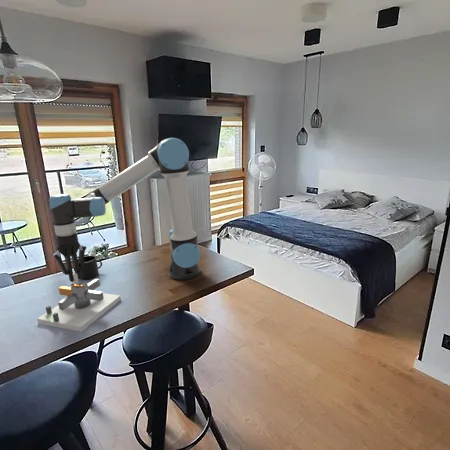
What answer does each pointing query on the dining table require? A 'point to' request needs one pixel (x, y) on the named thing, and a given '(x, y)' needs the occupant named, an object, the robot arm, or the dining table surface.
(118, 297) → the stand plate
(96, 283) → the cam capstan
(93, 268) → the mug
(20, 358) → the dining table surface
